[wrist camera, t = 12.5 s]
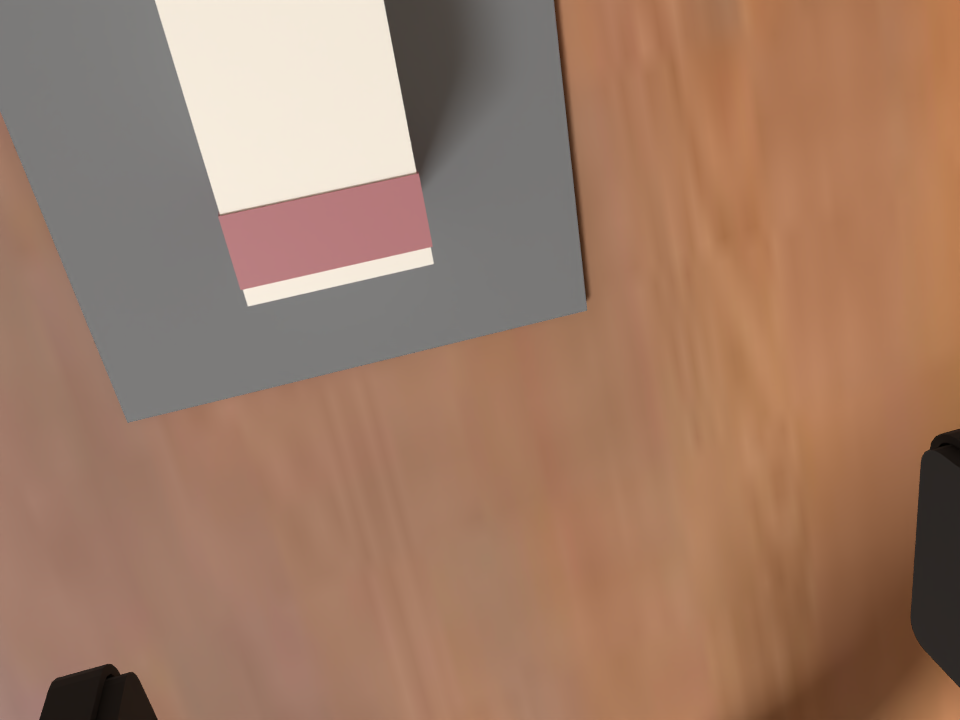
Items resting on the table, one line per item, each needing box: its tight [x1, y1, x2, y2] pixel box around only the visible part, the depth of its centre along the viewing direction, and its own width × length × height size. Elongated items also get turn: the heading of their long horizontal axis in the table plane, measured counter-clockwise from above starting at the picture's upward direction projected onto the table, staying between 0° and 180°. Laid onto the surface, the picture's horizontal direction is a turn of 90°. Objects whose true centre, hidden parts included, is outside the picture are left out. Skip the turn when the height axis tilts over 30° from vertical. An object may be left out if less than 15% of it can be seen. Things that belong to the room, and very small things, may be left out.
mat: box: [0, 0, 587, 423], centre depth 26 cm, size 20×16×1 cm
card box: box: [155, 0, 434, 306], centre depth 23 cm, size 10×5×5 cm, turn 9°
